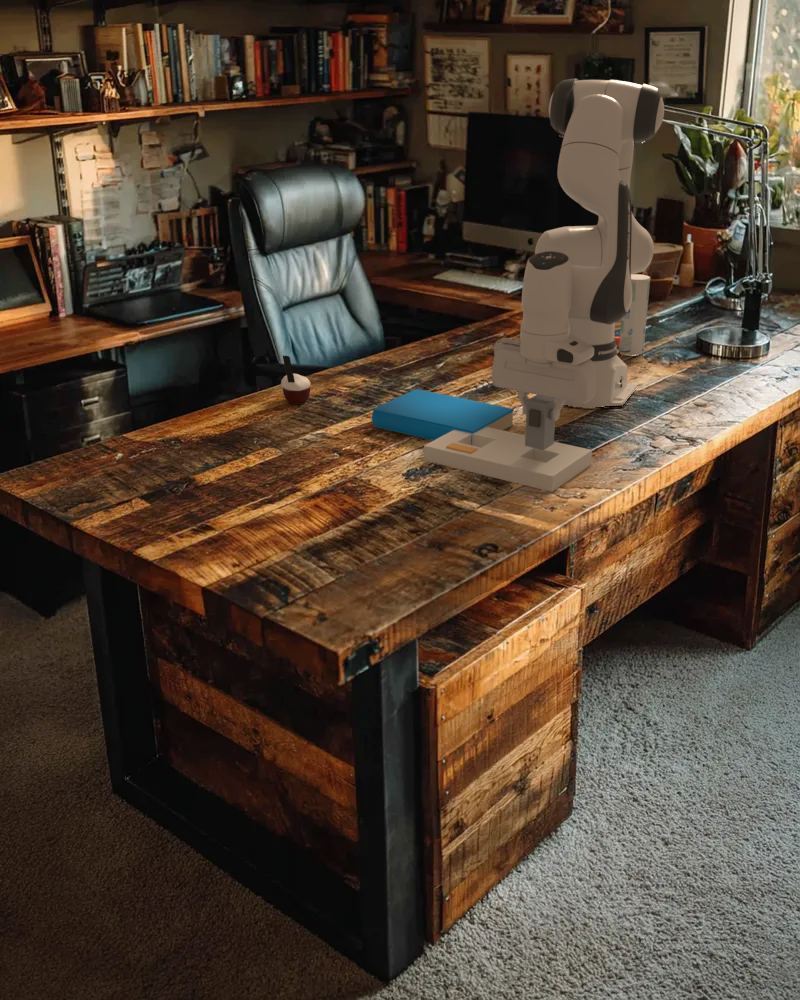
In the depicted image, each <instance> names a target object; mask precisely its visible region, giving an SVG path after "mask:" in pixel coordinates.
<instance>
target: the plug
mask: <svg viewBox="0 0 800 1000" xmlns="http://www.w3.org/2000/svg"><path fill="white" fill-rule="evenodd" d="M556 405H557V404H555V403H554V398H551V397H546V396H541V395H537V394H535V395H534V396H532V397H530V398H529V399H528V400H527V408H526V414H525V434H524V435H525V446H528V447H532V448H536V449H541V450H545V449H546V448H548V447H550V446H551V445H553V444H554V442H555V430H556V429H555V428H556V421H554V420H550V419H548V416H549V414H548V413H549V410H551V409H553V408H555V407H556Z"/></svg>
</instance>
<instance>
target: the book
mask: <svg viewBox="0 0 800 1000" xmlns="http://www.w3.org/2000/svg"><path fill="white" fill-rule="evenodd" d="M514 412H515V409H514V408H511V407H507V406H503V405H497V404H493V403H488V402H482V401H478V400H477V401H476V400H472V399H468V398H463V397H459V396H453V395H447V394H443V393H439V392H432V391H428V390H422V389H418V388H416V389H413V390H411V391H409V392H407V393H404V394H402V395H400V396H399V397H396V398H395V399H392V400H390V401H387V402H385V403H383V404H380V405H379V406H376V407H375V408H373V409H372V415H371V422H372V425H373V427H374V428H379V429H384V430H387V431H391V432H397V433H401V434H404V435H408V436H414V437H418V438H422V439H425V440H430V441H434V440H436V439H438V438H439V437H441V436H443V435H445V434H447V433H449V432H451V431H453V430H459V431H464V432H468V433H472V434H473V433H475V432H477V431H478V430H480V429H482V428H484V427H490V428H494V429H499V430H503V431H507V429H509V428H511V427H512V426H514V424H513V423H514V422H513V421H514V419H513V417H514ZM471 445H472V437H471Z"/></svg>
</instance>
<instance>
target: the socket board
mask: <svg viewBox="0 0 800 1000" xmlns="http://www.w3.org/2000/svg"><path fill="white" fill-rule="evenodd" d="M471 437H472V445H471ZM592 457H593V449H588V448H585V447H580V446H575V445H571V444H567V443H562V442H557V441H554V444H553V445H551V446H550V447H548V448H546V449H545V450H541V449H536V448H532V447H528V446H525V434H521V433H515V432H512V431H507V430H504V431H503V430H499V429H494V428H490V427H484V428H482V429H480V430H478V431H477V432H475V433H473V434H472V433H468V432H464V431H459V430H453V431H451V432H449V433H447V434H445V435H443V436H441V437H439V438H438V439H436V440H431V441H430V442H428V443H426V444H424V445H423V464H426V463H428V462H430V463H433V464H437V465H443V466H445V467H450V468H454V469H458V470H461V471H467V472H470V473H472V474H473V473H474V474H479V475H481V476H485V477H489V478H494V479H499V480H502V481H507V482H511V483H515V484H519V485H522V486H526V487H531V488H534V489H538V490H543V491H547V492H551V493H552V492H554V491H555V490H557V489H559V488H560V487H561V486H563V485H564V484H566V483H567V482H569V481H570V480H572V479H573V478H574V477H576V476H578V474H580V473H581V472H583V471H584V470H586V469H587V468H589V467H590V466H592V459H593V458H592Z"/></svg>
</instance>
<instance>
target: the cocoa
mask: <svg viewBox="0 0 800 1000" xmlns="http://www.w3.org/2000/svg"><path fill="white" fill-rule="evenodd" d="M282 360H283V365H284V369H285V373H286V375H284V376H283V378H282V379H281V380H280V381H281V382H280V385H281V386H282V393H283V397H284V399H285V400H286V402H287V403H290V404H292V405H300V404H301V405H302V404H304V403H306V402H307V401H308V400H309V397H310V395H311V384H312V383H311V382H310V380H309V379H308V377H306V376H304V375H300V374H298V373H294V372H293V368H292V367H293V366H292V361H291V357H290V355H284V354H283V355H282Z"/></svg>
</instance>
